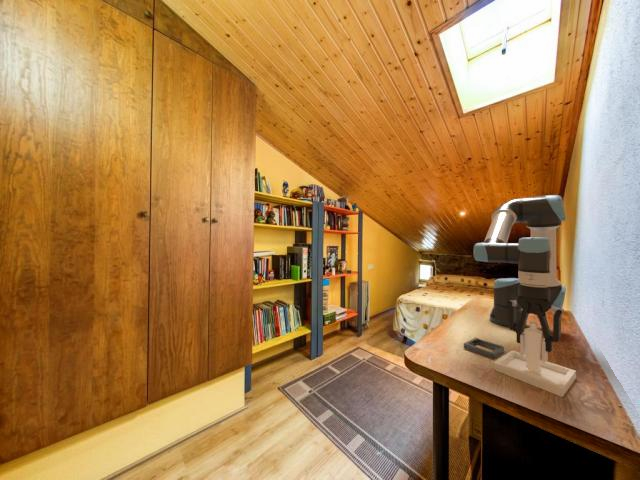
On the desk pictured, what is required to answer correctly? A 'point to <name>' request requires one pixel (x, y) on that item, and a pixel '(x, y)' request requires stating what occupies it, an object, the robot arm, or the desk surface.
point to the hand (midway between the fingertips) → (533, 357)
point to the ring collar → (493, 354)
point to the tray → (537, 373)
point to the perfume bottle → (533, 346)
